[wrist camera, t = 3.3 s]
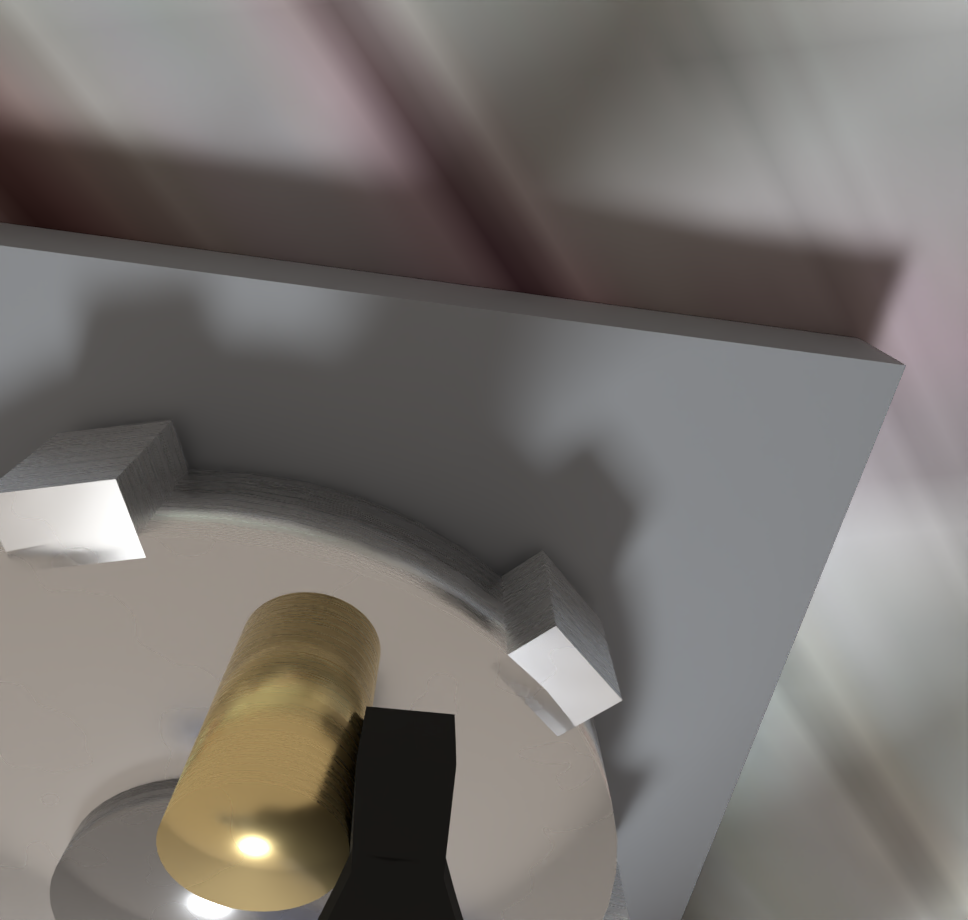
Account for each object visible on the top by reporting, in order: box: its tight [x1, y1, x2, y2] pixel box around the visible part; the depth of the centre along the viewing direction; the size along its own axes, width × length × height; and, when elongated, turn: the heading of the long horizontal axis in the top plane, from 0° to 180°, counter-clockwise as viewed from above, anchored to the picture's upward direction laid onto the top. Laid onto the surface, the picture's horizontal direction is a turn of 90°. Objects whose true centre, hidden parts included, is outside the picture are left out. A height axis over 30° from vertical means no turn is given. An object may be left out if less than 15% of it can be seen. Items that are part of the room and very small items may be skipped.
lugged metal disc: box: [0, 419, 629, 920], centre depth 12 cm, size 14×16×5 cm
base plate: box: [0, 222, 906, 920], centre depth 15 cm, size 20×20×2 cm
